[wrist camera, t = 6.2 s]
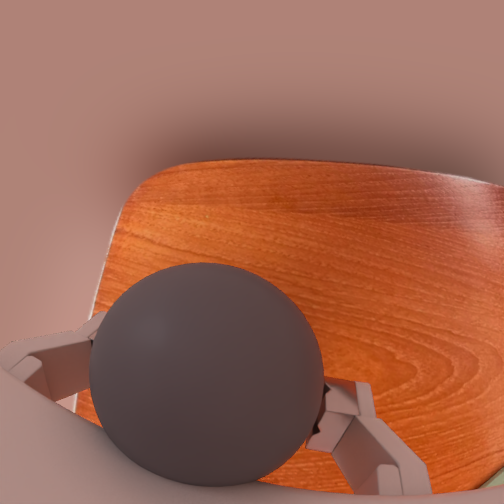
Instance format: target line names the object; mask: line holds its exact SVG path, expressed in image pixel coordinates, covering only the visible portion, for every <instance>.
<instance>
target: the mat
mask: <svg viewBox="0 0 504 504" xmlns="http://www.w3.org/2000/svg"><path fill="white" fill-rule="evenodd" d="M502 484H504V467H503V468H502V469H501V470H500V471H498V472H497V473H496V474H495V475H494V476H493V477H491V478H490V479H489V480H488V481H487V482H485V483H484V484H483V485H482V486H481V487H479V488H478V489H481V488H487V487H492V486H497V485H502Z"/></svg>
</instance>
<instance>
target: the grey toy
mask: <svg viewBox="0 0 504 504" xmlns="http://www.w3.org/2000/svg"><path fill="white" fill-rule="evenodd" d="M89 383H90V390H91V396H92V400H93V403H94V407H95V411H96V413H97V415H98V418H99V420H100V422H101V425H102V426H103V428H104V430H105V431H106V433H107V435H108V436H109V438H110V439H111V440H112V442H113V443H114V444H115V445H116V446H117V448H118V449H119V450H120V451H122V452H123V453H124V454H125V455H126V456H127V457H128V458H129V459H131V460H132V461H133V462H135V463H136V464H138V465H139V466H141V467H142V468H144V469H146V470H148V471H150V472H152V473H154V474H156V475H159V476H161V477H164V478H166V479H169V480H173V481H176V482H180V483H184V484H189V485H195V486H205V487H223V486H234V485H240V484H244V483H248V482H252V481H256V480H258V479H260V478H262V477H264V476H266V475H268V474H270V473H271V472H273V471H274V470H276V469H277V468H279V467H280V466H282V465H283V464H284V463H285V462H286V461H287V460H288V459H290V458H291V457H292V456H293V455H294V454H295V452H296V451H297V450H298V449H299V448H300V446H301V445H302V444H303V443H304V441H305V440H306V438H307V436H308V435H309V433H310V432H311V430H312V428H313V425H314V423H315V421H316V418H317V416H318V413H319V409H320V406H321V402H322V396H323V388H324V369H323V363H322V356H321V352H320V349H319V345H318V342H317V339H316V337H315V335H314V333H313V330H312V328H311V326H310V325H309V323H308V321H307V320H306V318H305V316H304V315H303V313H302V312H301V311H300V310H299V308H298V307H297V306H296V305H295V304H294V302H293V301H292V300H290V299H289V298H288V297H287V296H286V295H285V294H284V293H283V292H282V291H281V290H279V289H278V288H277V287H275V286H274V285H273V284H271V283H270V282H268V281H267V280H265V279H263V278H261V277H260V276H258V275H256V274H253V273H251V272H249V271H246V270H244V269H241V268H237V267H234V266H230V265H224V264H218V263H190V264H183V265H178V266H173V267H169V268H166V269H163V270H160V271H158V272H156V273H153V274H151V275H149V276H147V277H145V278H144V279H142V280H140V281H139V282H137V283H136V284H134V285H133V286H132V287H130V288H129V289H128V290H127V291H126V292H124V293H123V294H122V295H121V296H120V297H119V298H118V300H117V301H116V302H115V303H114V304H113V305H112V307H111V308H110V309H109V311H108V312H107V313H106V315H105V317H104V319H103V320H102V322H101V324H100V326H99V328H98V331H97V333H96V336H95V338H94V342H93V346H92V349H91V354H90V363H89Z"/></svg>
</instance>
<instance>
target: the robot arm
mask: <svg viewBox="0 0 504 504" xmlns="http://www.w3.org/2000/svg"><path fill="white" fill-rule="evenodd" d="M106 313H107V312H105V311H100V312H99V313H97V314H96V315H95V316H94V317H92V318H91V319H90V320H89V321H88V322H86V323H85V324H84V325H83V326H82V327H80V328H79V329H78V330H77V331H75V332H73V331H67V332H61V333H56V334H51V335H45V336H40V337H35V338H29V339H24V340H18V341H12V342H11V343H9V344H8V345H7V346H5V347H4V348H3V349H1V350H0V504H504V484H502V485H497V486H492V487H487V488H481V489H474V490H467V491H459V492H450V493H440V494H432V489H431V484H430V480H429V475H428V471H427V467H426V464H425V463H424V462H423V461H422V460H421V459H420V458H419V457H418V456H417V455H416V454H415V453H414V452H413V451H412V450H411V449H410V448H409V447H408V446H407V445H406V444H405V443H404V442H403V441H402V440H401V439H400V438H399V437H398V436H397V435H396V434H395V433H394V432H393V431H392V430H391V429H390V428H389V427H388V426H387V425H386V424H385V423H384V422H383V421H382V419H379V418H377V417H376V412H375V406H374V401H373V396H372V391H371V386H370V384H369V383H365V382H358V381H349V380H343V379H338V378H332V377H327V376H324V388H323V396H322V402H321V406H320V409H319V413H318V416H317V418H316V421H315V423H314V425H313V428H312V430H311V432H310V433H309V435H308V436H307V438H306V447H305V449H310V450H315V451H321V452H327V453H332V454H331V455H332V457H333V458H334V460H335V462H336V463H337V465H338V467H339V468H340V470H341V472H342V473H343V475H344V476H345V478H346V480H347V481H348V483H349V485H350V486H351V488H352V490H353V491H354V494H343V493H332V492H323V491H314V490H306V489H299V488H293V487H287V486H281V485H276V484H270V483H265V482H260V481H252V482H248V483H244V484H240V485H234V486H223V487H205V486H195V485H189V484H184V483H180V482H176V481H173V480H169V479H166V478H164V477H161V476H159V475H156V474H154V473H152V472H150V471H148V470H146V469H144V468H142V467H141V466H139V465H138V464H136V463H135V462H133V461H132V460H131V459H129V458H128V457H127V456H126V455H125V454H124V453H123V452H122V451H120V450H119V449H118V448H117V446H116V445H115V444H114V443H113V442H112V440H111V439H110V438H109V436H108V435H107V433H106V431H105V430H104V428H102V427H100V426H98V425H96V424H94V423H92V422H90V421H88V420H86V419H84V418H83V417H81V416H79V415H77V414H75V413H73V412H71V411H70V410H68V409H66V408H64V407H62V406H61V405H59V404H57V403H55V402H56V401H58V400H61V399H63V398H66V397H68V396H71V395H73V394H76V393H78V392H81V391H83V390H85V389H88V388H90V383H89V363H90V354H91V349H92V346H93V342H94V338H95V336H96V333H97V331H98V328H99V326H100V324H101V322H102V320H103V319H104V317H105V315H106Z"/></svg>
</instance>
